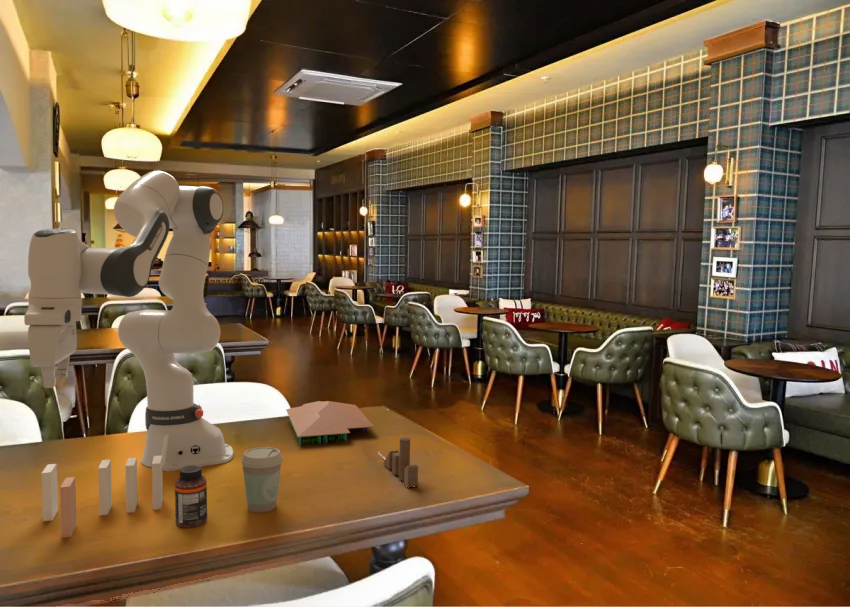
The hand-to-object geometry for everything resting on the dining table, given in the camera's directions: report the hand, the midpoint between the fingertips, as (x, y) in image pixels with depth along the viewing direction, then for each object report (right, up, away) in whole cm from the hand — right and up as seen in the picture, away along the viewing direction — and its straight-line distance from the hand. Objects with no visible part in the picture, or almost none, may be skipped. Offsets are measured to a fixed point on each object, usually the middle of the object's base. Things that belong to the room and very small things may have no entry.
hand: (56, 382), depth 122 cm
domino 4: (+15, -28, +11) cm, 33 cm away
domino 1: (+4, -28, -2) cm, 29 cm away
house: (+42, -23, +71) cm, 86 cm away
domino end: (-4, -28, +4) cm, 28 cm away
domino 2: (+6, -28, +8) cm, 29 cm away
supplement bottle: (+25, -29, +3) cm, 38 cm away
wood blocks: (+64, -27, +35) cm, 78 cm away
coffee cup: (+37, -28, +11) cm, 48 cm away
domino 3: (+10, -28, +9) cm, 31 cm away
